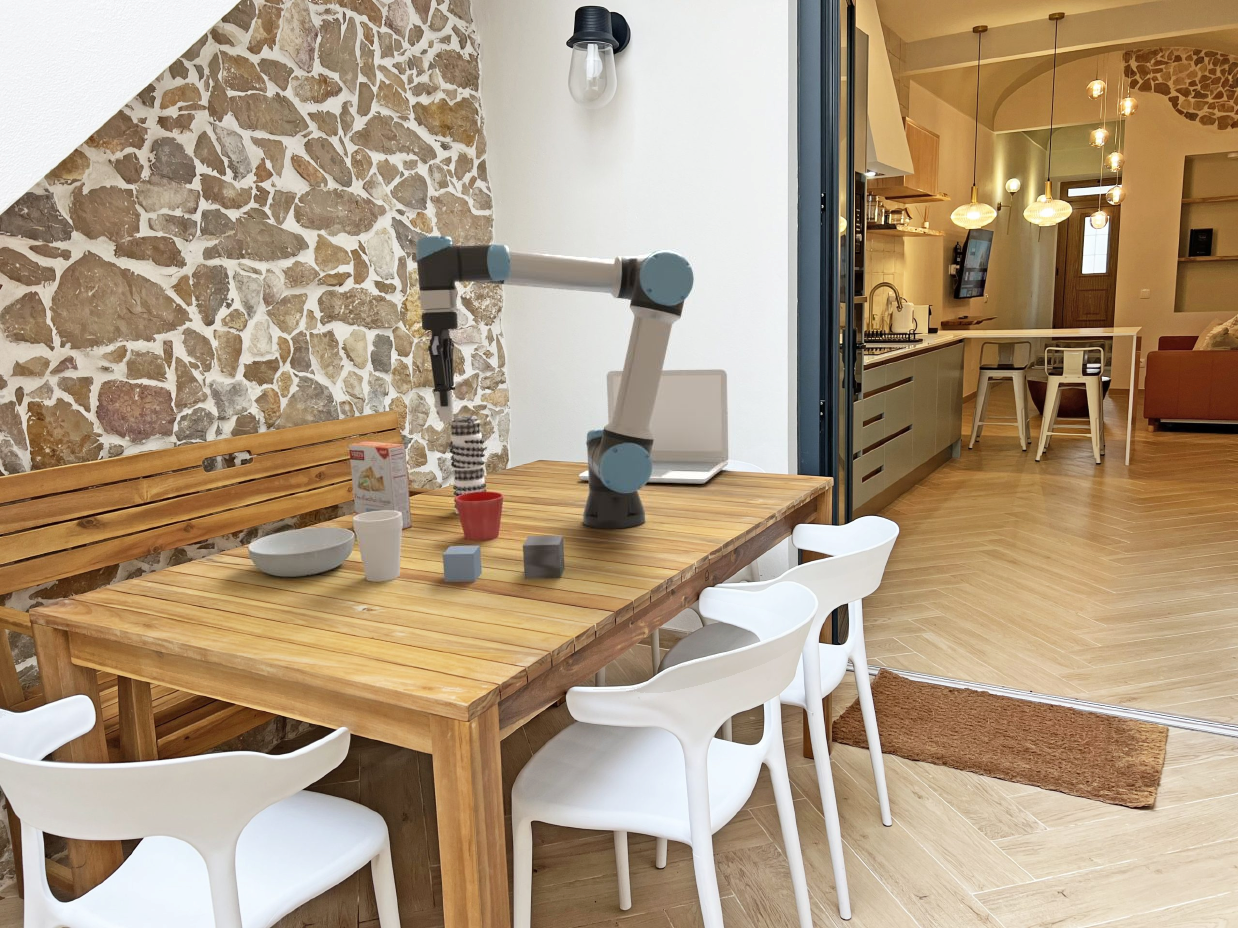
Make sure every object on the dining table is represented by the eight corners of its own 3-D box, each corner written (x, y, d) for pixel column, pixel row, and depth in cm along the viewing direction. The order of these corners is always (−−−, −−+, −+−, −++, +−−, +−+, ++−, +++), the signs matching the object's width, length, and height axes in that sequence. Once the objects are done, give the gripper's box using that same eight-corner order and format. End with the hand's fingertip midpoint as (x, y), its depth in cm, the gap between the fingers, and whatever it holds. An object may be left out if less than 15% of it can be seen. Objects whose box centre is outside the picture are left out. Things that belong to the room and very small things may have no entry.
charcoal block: (564, 569, 184) (563, 535, 183) (560, 579, 178) (558, 544, 176) (530, 569, 185) (528, 536, 184) (524, 580, 178) (522, 545, 177)
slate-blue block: (481, 574, 183) (479, 545, 182) (475, 583, 177) (473, 553, 176) (452, 575, 183) (450, 546, 182) (444, 584, 178) (442, 554, 177)
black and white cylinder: (492, 506, 245) (486, 413, 240) (484, 514, 236) (477, 418, 231) (459, 507, 246) (452, 414, 241) (449, 515, 236) (442, 419, 232)
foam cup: (416, 574, 185) (411, 511, 182) (390, 588, 176) (384, 522, 174) (375, 571, 188) (370, 509, 186) (348, 584, 179) (342, 520, 177)
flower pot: (497, 543, 207) (494, 501, 205) (451, 542, 209) (448, 500, 207) (511, 531, 217) (509, 491, 215) (467, 530, 219) (465, 491, 217)
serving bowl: (249, 566, 196) (246, 535, 195) (350, 552, 204) (347, 522, 203) (252, 592, 177) (249, 558, 176) (363, 576, 185) (361, 543, 184)
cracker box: (355, 527, 228) (347, 444, 224) (373, 521, 233) (366, 440, 229) (394, 533, 220) (387, 447, 216) (412, 527, 225) (406, 443, 221)
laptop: (577, 481, 277) (572, 379, 271) (612, 463, 305) (608, 370, 300) (705, 485, 263) (703, 377, 258) (729, 465, 292) (727, 369, 286)
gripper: (429, 311, 202) (437, 417, 206) (413, 312, 189) (421, 425, 193) (463, 310, 201) (470, 416, 206) (448, 310, 189) (457, 424, 193)
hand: (446, 420), depth 199 cm, fingers closed
